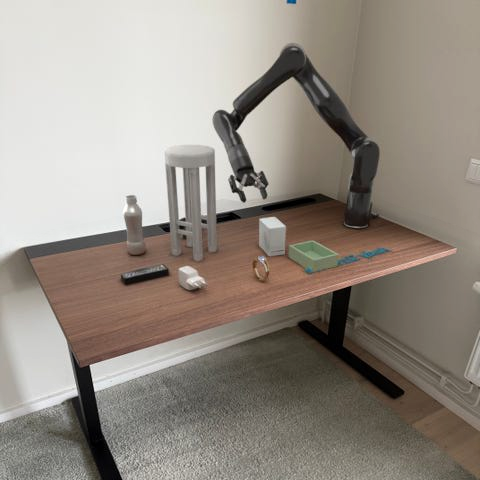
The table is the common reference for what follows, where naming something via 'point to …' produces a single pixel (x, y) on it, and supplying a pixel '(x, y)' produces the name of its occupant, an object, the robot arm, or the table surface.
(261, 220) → the cosmetics box
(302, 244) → the holder
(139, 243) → the plastic bottle
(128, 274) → the multiport hub
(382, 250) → the nameplate
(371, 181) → the robot arm
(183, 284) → the power adapter
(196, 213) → the stool
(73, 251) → the table surface
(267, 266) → the ring
